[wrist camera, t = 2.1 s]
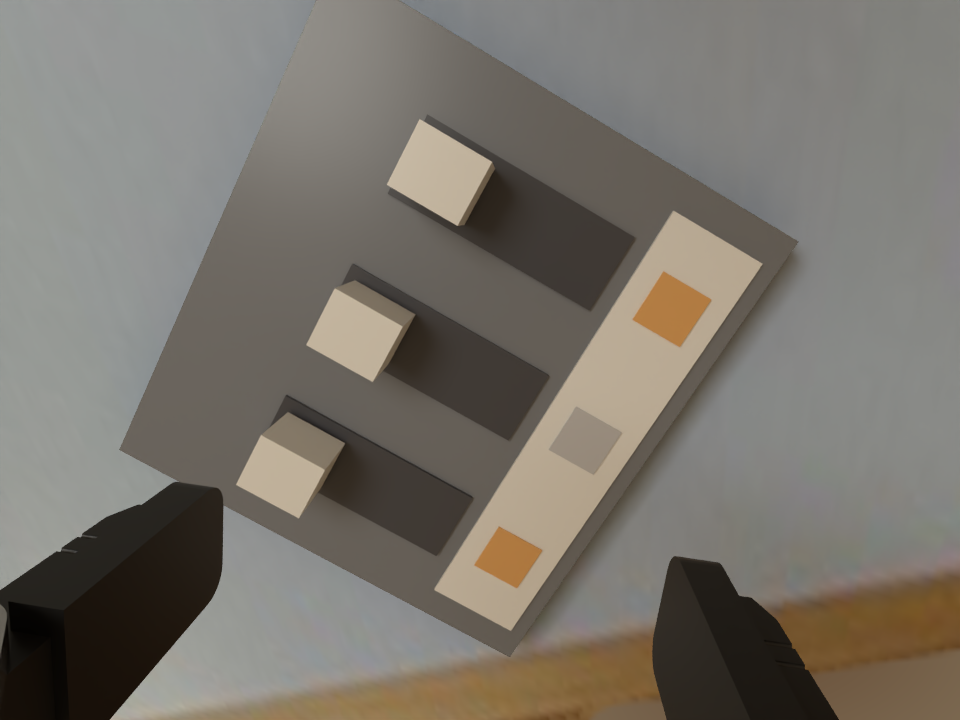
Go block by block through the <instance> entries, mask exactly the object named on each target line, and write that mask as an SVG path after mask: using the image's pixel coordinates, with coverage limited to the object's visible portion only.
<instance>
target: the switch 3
mask: <svg viewBox="0 0 960 720" xmlns="http://www.w3.org/2000/svg"><path fill="white" fill-rule="evenodd" d="M494 170H495V167H494V165H493V163H492V162H491V161H490V160H488V159H486V158H485V157H483V156H481V155H480V154H478V153H476V152H475V151H473V150H471V149H469V148H468V147H466V146H464V145H463V144H461V143H459V142H458V141H456V140H454V139H453V138H451V137H449V136H448V135H446V134H444V133H442V132H441V131H439V130H437V129H436V128H434V127H432V126H431V125H429V124H427V123H426V122H424V121H422V120H420V119H419V121H418V123H417V125H416V127H415V129H414V131H413V133H412V135H411V137H410V139H409V141H408V143H407V145H406V147H405V149H404V151H403V153H402V155H401V157H400V159H399V161H398V163H397V165H396V167H395V169H394V171H393V173H392V175H391V177H390V179H389V181H388V183H387V185H388V186H390V187H391V188H393V189H395V190H397V191H398V192H400V193H402V194H403V195H405V196H407V197H409V198H410V199H412V200H414V201H415V202H417V203H419V204H421V205H422V206H424V207H426V208H428V209H429V210H431V211H433V212H434V213H436V214H438V215H440V216H441V217H443V218H445V219H446V220H448V221H450V222H452V223H453V224H455V225H457V226H460V225H465V223H466V221H467V219H468V217H469V215H470V214H471V212H472V210H473V208H474V206H475V204H476V203H477V201H478V199H479V197H480V195H481V193H482V192H483V190H484V188H485V186H486V184H487V182H488V181H489V179H490V177H491V175H492V173H493V171H494Z"/></svg>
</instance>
